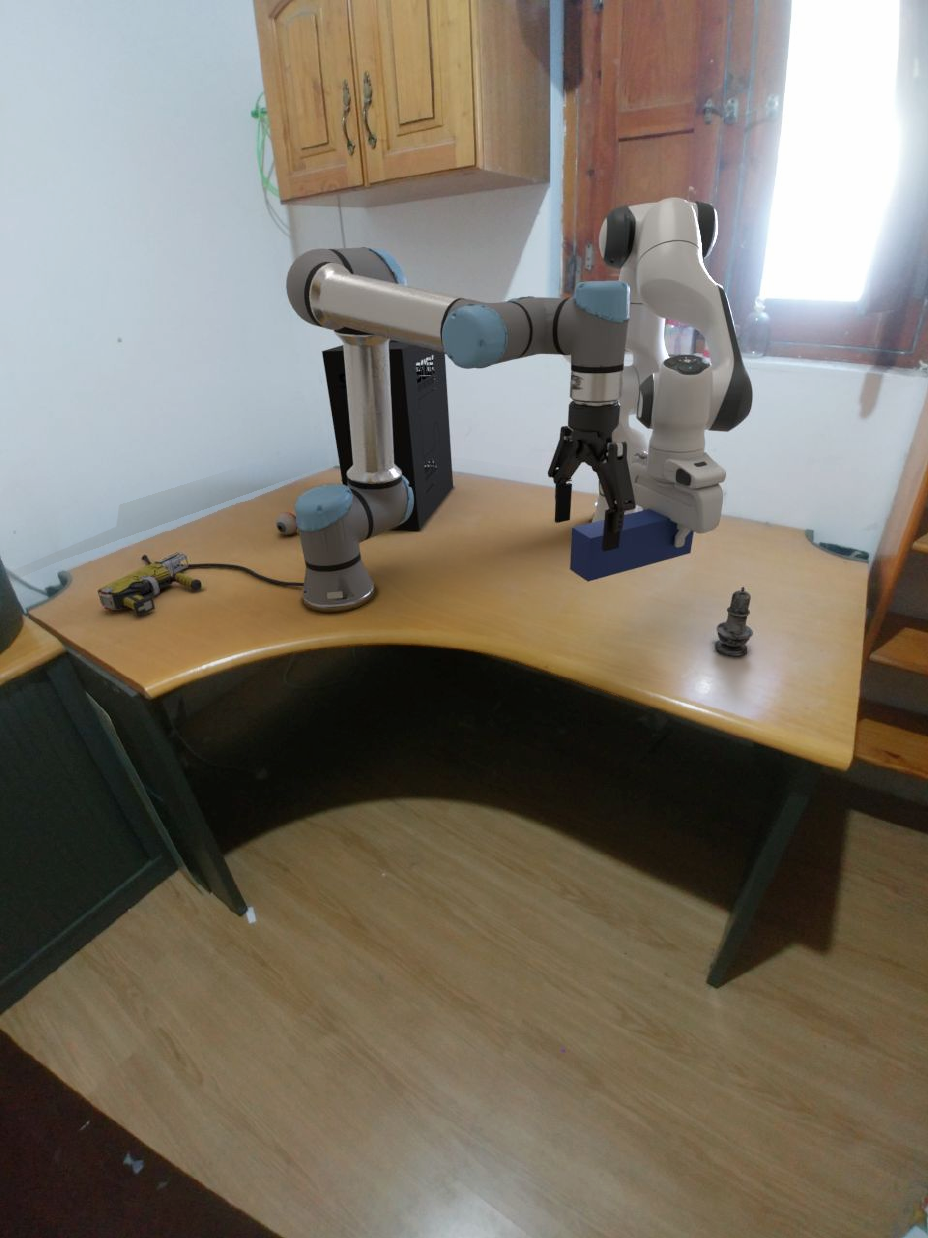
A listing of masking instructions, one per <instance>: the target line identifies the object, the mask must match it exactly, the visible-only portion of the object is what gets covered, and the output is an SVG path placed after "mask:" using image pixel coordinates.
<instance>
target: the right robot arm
mask: <svg viewBox="0 0 928 1238" xmlns="http://www.w3.org/2000/svg"><path fill="white" fill-rule="evenodd" d="M718 224H719V223H718V213H717V210H716V208H715V207H714V205H713V204H712V203H709V202H705V201H699V200H695V201H694V202H691V201H687V200H686V199H685V198H681V197H667V198H663V199H661V200H660V201H657V202H648V203H640V204H634V205H628V204H624V205H620V206H616V207H613V208H611V209H610V210H609V212H608V213H607V214H606V215H605V217H604V220H603V222H602V224H601V227H600V230H599V235H598V248H599V252H600V255H601V261H602V262H603V263H604V264H605V265H606V267H609V268H613V269H618V270H620V271H619V277H618V281H624V282H626V283H627V284H628V286H629V288H630V301H629V316H630V320H629V322H628V329H627V338H626V347H625V351H627V352H629V353H631V354H632V364H631V365H624V373H623V386H622V396H621V398H620V399H618V400H617V401H618V402H619V404H620V415H619V425H618V427H617V428H616V429H615V430H614V431H613V433H612V439H613V442H616V443H618V442H624V441H625V442H626V443H627V462H628V467H629V472H630V477H631V482H632V487H633V493H634V498H635V503H636V508H635V509H632V510H628V511H625V512H624V515H626V514H630V513H635V512H639V511H643V510H647V509H651V510H653V511H655V512H657V513H659V514H662V515H664V516H666V517H668V518H670V520H671V521H673V522H675V523H677V529H678V530H679V531H678V533H677V535H673V536H672V539H671V540H672V541H671V544H672V545H674V546H675V547H677V548H678V547H682V546H683V545H684V543H685V537H686V536H687V535H688V534H689V532H690V531H691V530H692V531H694V533H696V534H700V535H701V534H705V533H708V532H712V531H714V530H715V529H717V528H718V527H719V524H720V522H721V517H722V510H723V505H724V491H723V487H722V486H721V485H720V484H722V483H724V482H725V481H726V478H727V471H726V469H724V467H723V466H721V465H720V464H719V463H718V462H717V461H715V460H714V459H713V458H712V457H711V456H710V455H709V454H708V453H707V452H706V451H705V448H706V438H705V431H709V432H710V431H711V432H724V433H728V432H730V431H732V430H734V429H735V428H736V427H738V426H739V425H740V424H741V423H743V422H744V421H745V420H746V419H747V417H748V416H750V413H751V410H752V407H753V399H754V398H753V397H754V393H753V385H752V381H751V378H750V375H749V373H748V371H747V369H746V366H745V364H744V360H743V356H742V351H741V348H740V345H739V339H738V336H737V331H736V327H735V322H734V319H733V314H732V310H731V307H730V302H729V299H728V295H727V293H726V291H725V289H724V287H723V286H722V285H721V284H719V283H718V282H717V281H714V279H713V278H712V277H711V276H710V275H709V273H708V271H707V269H706V268H705V265H704V263H703V262H704V261H705V259H706V258H707V257H709V256H710V255H711V252H712V250H713V247H714V245H715V243H716V240H717V236H718V228H719V225H718ZM666 320H669V321H672V322H677V323H680V324H683V325H686V326H688V327H690V328H693V329H694V330H696V331H697V332H699V333H700V334H701V335H702V336H703V338H704V340H705V343H706V347H707V352H708V355H709V356H708V357H709V359H707V358H705V357H703V356H700V355H695V354H677V355H674V356H669V354H668V351H667V348H666V343H665V329H666V328H665V327H666ZM634 415H635V417H636V420H637V421H639V422H640V424H642V425H643V427H645V428H646V429H648V430H652V431H651V435H650V437H649V440H648V438H647V437H646V435H645V434H644V433H643V432H640V431H639V430H637V429H636V428H633V427H631V426H630V422H629V421H630V420H629V419H630V416H634ZM605 462H606V459H605V461H604V462H603V463H605ZM598 492H599V493H598V498H597V502H595V503H594V504H595V506H596V507H595V511H594V514H593V517H592V520H591V523H593V522H597V521H601V520H605V510H608V509H609V507H608V504H607V501H606V498H605V495H604V493H603V490H602V487H601V484H600V481H599V480H598ZM626 502H627V501H626ZM615 504H616V501H615Z"/></svg>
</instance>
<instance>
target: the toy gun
mask: <svg viewBox="0 0 928 1238" xmlns="http://www.w3.org/2000/svg"><path fill="white" fill-rule="evenodd" d="M185 560H186V563H184V564H186V565H184V564H183V563H181V562H182V561H185ZM151 563H152V564H150V565H148V564H147V565H146V566H144V567H142V568H139V569H136V570H135V571H133V572H131V573H129V574H126V575H125V576H123V577H121V578H119V579H116V580H114V581H112V582H110V583H108V584H106V585H104V586H102V587H100V588H98V590H97V594H98V597H99V603H100V604H101V607H102V608H104V610H106V611H107V610H108V611H109V612H110V611H111V612H112V611H113V610H115V611H119V610H126V609H129V608H130V609H132V610H134V612H135V616H136V617H141V616H143V615H145V614H148V613H150V612H152V611H154V610H156V608H155V604H154V599H153V597H155V596H156V595H159V594H160V590H161V589H163V588H166V587H169V586H171V585H173V583H177V584H179V585H181V586H184V587H187V588H188V589H192V591H195V592H196V591H199V590H200V589H201V588H203V587H202V581H201V580H200V579H197V578H193V577H191V576H188V575H187V574H183V573H182V571H183V570H185V569H188V568H189V567H188V564H189V562H188V556H187V554H186V553H183V552H182V553H180V552H178V551H176V552H175V553H173V554H171V555H168V556H166V557H164V558H162V559H161V560H157V561H154V562H151ZM177 565H180V566H177ZM181 565H183V566H181Z"/></svg>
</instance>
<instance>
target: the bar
mask: <svg viewBox="0 0 928 1238" xmlns="http://www.w3.org/2000/svg"><path fill="white" fill-rule="evenodd" d="M603 531H604V520H601V521H597V522H593V523H592V522H590V523H584V524H581V525H577V526H572V527H571V537H570V557H569V558H570V559H569V570H570V571H571V572H573V573H574V574H576V575H577V576H579V577H580V578H581V579H583V580H584V581H586V582H587V583H589V582H591V581H596V580H599V579H603V578H606V577H611V576H614V575H617V574H621V573H624V572H628V571H631V570H635V569H639V568H642V567H646V566H650V565H653V564H657V563H661V562H664V561H667V560H671V559H674V558H678V557H682V556H685V555H689V554H691V552H692V548H693V547H692V546H693V540H694V539H693V538H694V533H695V532H694V531H692V530H691V531H690V532H689V534H688V535H687V536H686V537H685V543H684V545H683V546H682V547H678V548H677V547H675V546H674V545H672V544H671V541H672V540H671V539H672V536H673V535H677V533H678V531H679V530H678V529H677V523H675V522H673V521H671V520H670V518H668V517H666V516H664V515H662V514H659V513H657V512H655V511H653V510H651V509H647V510H643V511H639V512H635V513H630V514H626V515H624V521H623V529H622V531H621V532H620V542H619V548H617V549H613V550H609V551H603V550H602V542H603Z"/></svg>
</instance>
